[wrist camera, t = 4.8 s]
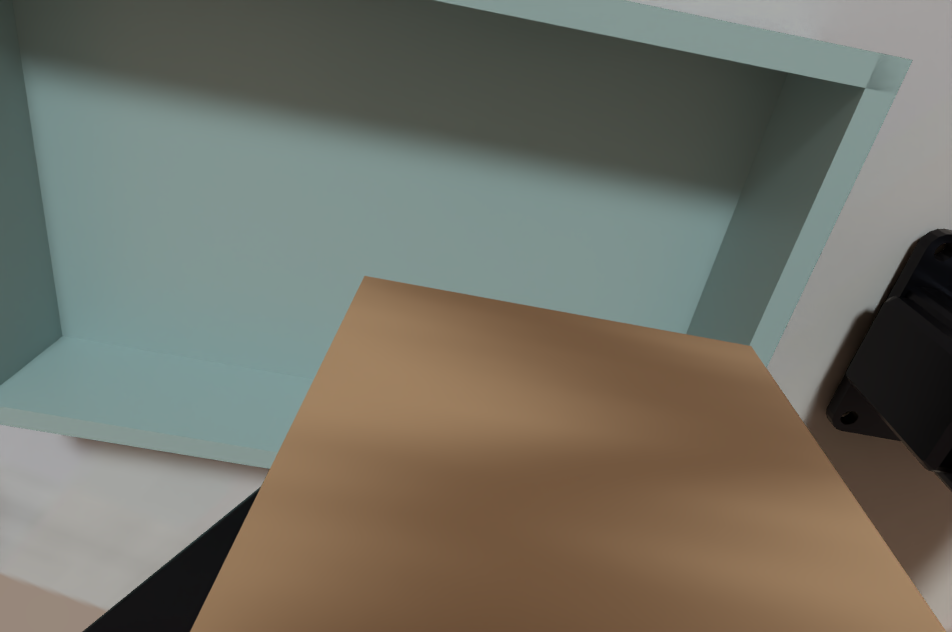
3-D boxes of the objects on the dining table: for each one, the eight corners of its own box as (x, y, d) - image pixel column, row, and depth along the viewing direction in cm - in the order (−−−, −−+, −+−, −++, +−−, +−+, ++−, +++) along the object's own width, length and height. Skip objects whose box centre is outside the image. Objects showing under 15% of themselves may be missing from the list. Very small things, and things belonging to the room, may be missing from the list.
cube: (751, 346, 8) (1051, 785, 4) (635, 602, 10) (731, 1061, 6) (364, 275, 8) (179, 653, 3) (334, 553, 10) (202, 992, 6)
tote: (815, 42, 15) (912, 59, 11) (654, 442, 20) (686, 537, 17) (-15, -130, 14) (-193, -169, 10) (57, 339, 20) (-42, 417, 16)
